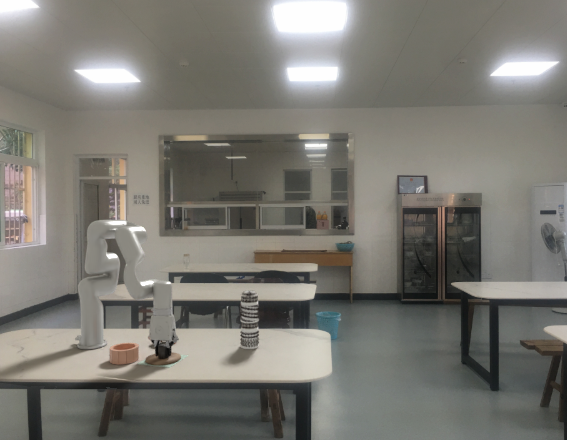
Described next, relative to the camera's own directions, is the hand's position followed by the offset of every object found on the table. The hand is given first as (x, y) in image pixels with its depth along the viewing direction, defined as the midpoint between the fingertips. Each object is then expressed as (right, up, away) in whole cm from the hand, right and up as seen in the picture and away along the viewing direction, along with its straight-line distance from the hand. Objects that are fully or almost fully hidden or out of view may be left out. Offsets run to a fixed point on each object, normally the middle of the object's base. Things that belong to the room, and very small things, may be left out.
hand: (163, 355), depth 177 cm
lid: (0, -2, 0) cm, 2 cm away
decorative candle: (+34, -2, +19) cm, 39 cm away
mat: (0, -2, 0) cm, 2 cm away
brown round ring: (-5, -2, +23) cm, 24 cm away
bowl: (-16, -2, 0) cm, 16 cm away
